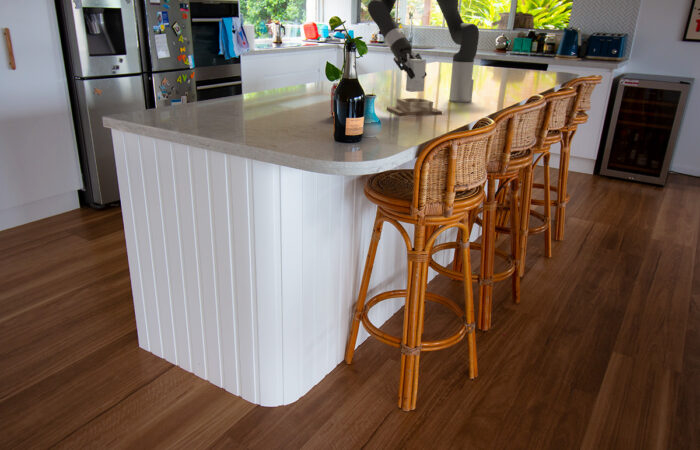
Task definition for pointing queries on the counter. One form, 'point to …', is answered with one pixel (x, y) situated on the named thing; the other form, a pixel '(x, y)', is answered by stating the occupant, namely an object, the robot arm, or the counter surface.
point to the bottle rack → (414, 107)
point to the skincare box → (416, 75)
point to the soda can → (332, 96)
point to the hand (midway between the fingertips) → (419, 76)
